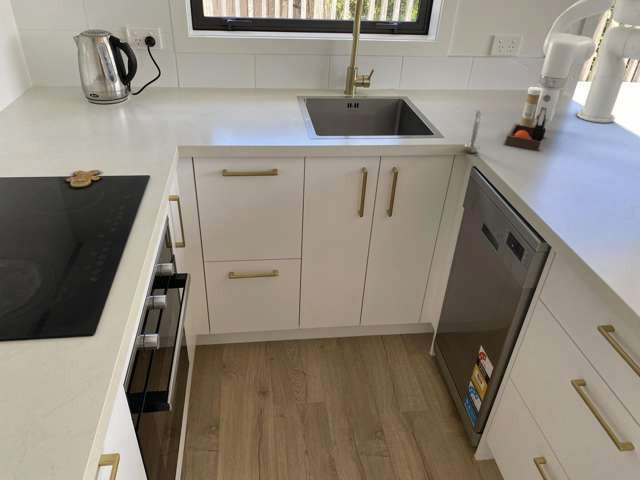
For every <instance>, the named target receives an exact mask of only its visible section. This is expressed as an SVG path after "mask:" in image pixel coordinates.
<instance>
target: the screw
mask: <svg viewBox="0 0 640 480" xmlns="http://www.w3.org/2000/svg"><path fill="white" fill-rule="evenodd" d="M481 115H482V111H481V110H477V111H476V112H475V118H474V121H473V125H472V130H471V135H470V141H467V142H465V143H464V144H463V146H464V148H465V149H466V152H467V154H468V153H469V154H476V151H477V150H479V149H481V145H480V144H479V143H477V139H478V134H479V130H480V124H481Z"/></svg>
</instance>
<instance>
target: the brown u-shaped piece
mask: <svg viewBox="0 0 640 480" xmlns="http://www.w3.org/2000/svg"><path fill="white" fill-rule="evenodd" d="M534 127H535V126H533V127H529V126H524V125H520V124H517V123H514V124H513V126H512V128H511V129H510V131H509V132H508V133H507V135H506V139H505V144H504V145H506V146H510V147H516V148H521V149H527V150H531V151H537V152H538V151H539V148H540V144H541V142H542V141H538V140H532V139H531V138H529V139H527V138H521V137H516V136H514V135H515V134H516V132H518V131H520V130H524V131H526V132H527V133H528V134H529V137H532V134H533V131H534ZM546 131H547V129H546V128H545V132H544V135H543V139H544V138H545V135H546Z"/></svg>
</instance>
